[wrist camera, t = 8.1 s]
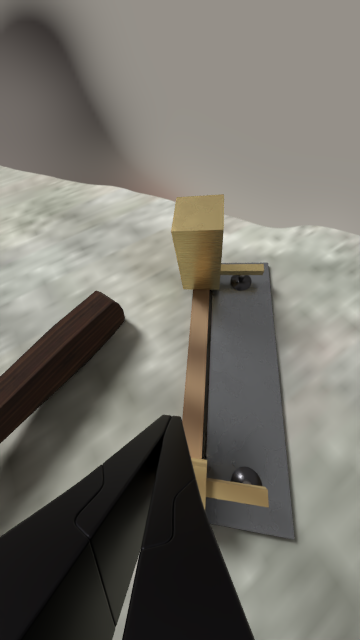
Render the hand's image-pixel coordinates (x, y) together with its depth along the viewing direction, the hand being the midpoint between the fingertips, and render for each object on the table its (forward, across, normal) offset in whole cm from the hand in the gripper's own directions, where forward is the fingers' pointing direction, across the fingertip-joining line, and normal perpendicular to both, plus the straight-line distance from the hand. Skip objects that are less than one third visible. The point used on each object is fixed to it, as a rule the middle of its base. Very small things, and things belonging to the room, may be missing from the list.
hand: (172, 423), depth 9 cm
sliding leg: (+20, +3, +3) cm, 21 cm away
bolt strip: (+13, +5, -5) cm, 15 cm away
